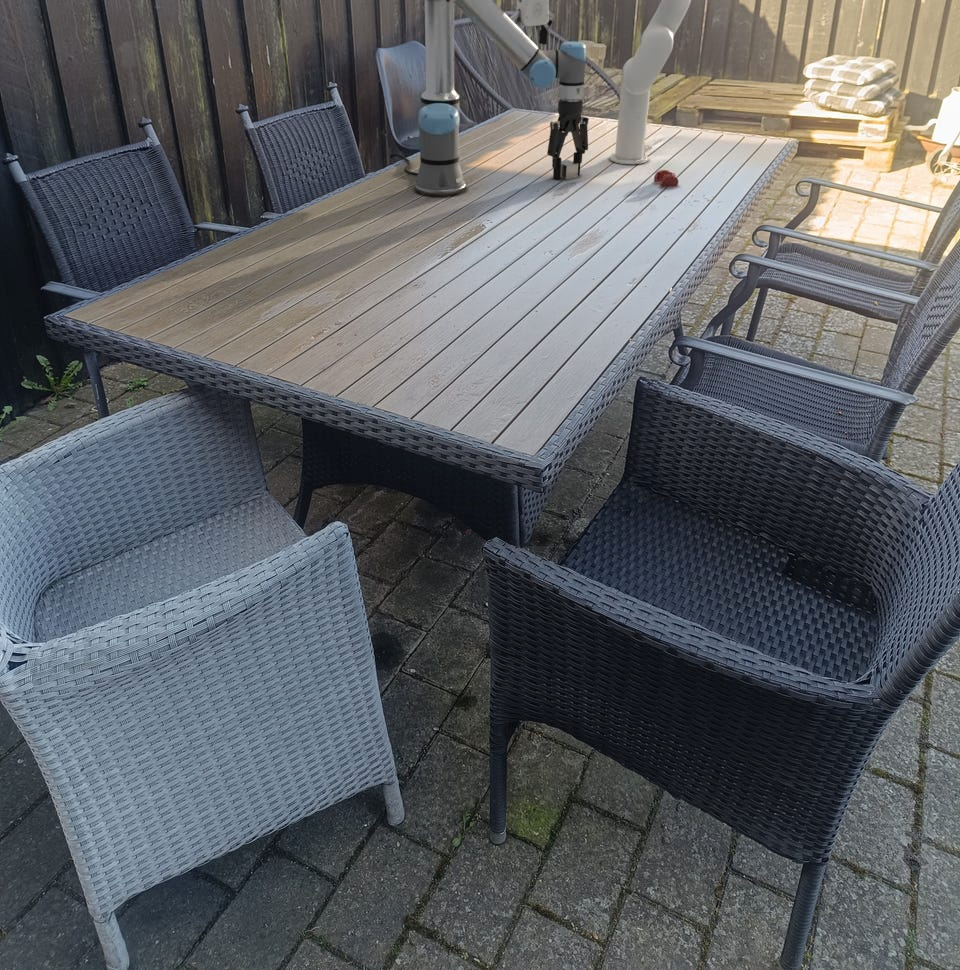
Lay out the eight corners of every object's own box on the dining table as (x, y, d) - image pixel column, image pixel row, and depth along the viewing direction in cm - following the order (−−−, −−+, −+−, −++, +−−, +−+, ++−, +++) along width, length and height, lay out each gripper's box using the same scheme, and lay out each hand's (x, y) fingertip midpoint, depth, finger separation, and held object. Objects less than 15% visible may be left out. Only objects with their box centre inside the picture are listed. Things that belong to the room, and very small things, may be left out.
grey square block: (565, 180, 267) (566, 165, 264) (555, 176, 270) (556, 162, 268) (577, 177, 269) (578, 163, 267) (567, 173, 273) (568, 159, 270)
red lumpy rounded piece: (669, 166, 264) (680, 173, 258) (668, 179, 266) (679, 187, 260) (653, 168, 263) (663, 175, 257) (652, 181, 265) (662, 189, 259)
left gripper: (552, 105, 249) (549, 184, 262) (604, 97, 258) (598, 173, 272) (536, 101, 254) (534, 178, 267) (587, 93, 264) (582, 168, 277)
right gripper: (517, -14, 253) (516, 49, 263) (562, -18, 261) (559, 44, 271) (503, -16, 258) (502, 46, 268) (547, -20, 266) (544, 41, 276)
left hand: (566, 176), depth 270 cm, fingers open, 7 cm apart
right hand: (531, 45), depth 269 cm, fingers open, 9 cm apart
